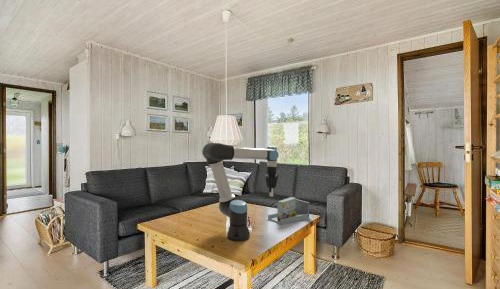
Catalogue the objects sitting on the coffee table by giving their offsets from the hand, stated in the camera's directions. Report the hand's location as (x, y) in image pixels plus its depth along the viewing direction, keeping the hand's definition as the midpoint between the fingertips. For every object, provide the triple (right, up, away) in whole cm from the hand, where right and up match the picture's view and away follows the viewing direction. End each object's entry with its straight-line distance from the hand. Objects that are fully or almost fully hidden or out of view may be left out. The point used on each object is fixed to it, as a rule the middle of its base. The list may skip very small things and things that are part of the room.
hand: (271, 196), depth 200 cm
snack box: (+14, -20, +9) cm, 26 cm away
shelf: (+15, -21, +11) cm, 28 cm away
